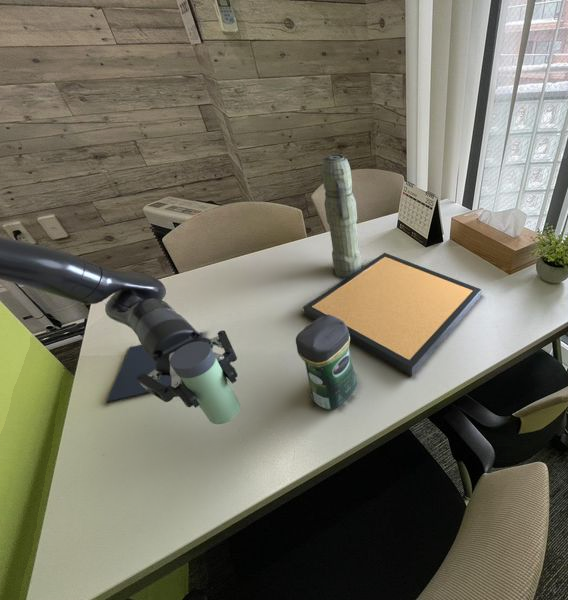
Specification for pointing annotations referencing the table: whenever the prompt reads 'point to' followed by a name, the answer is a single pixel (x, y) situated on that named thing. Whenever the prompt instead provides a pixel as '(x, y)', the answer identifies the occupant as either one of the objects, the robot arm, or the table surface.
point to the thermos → (341, 215)
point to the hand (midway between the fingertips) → (214, 390)
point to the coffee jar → (327, 361)
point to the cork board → (397, 309)
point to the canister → (206, 381)
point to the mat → (134, 374)
